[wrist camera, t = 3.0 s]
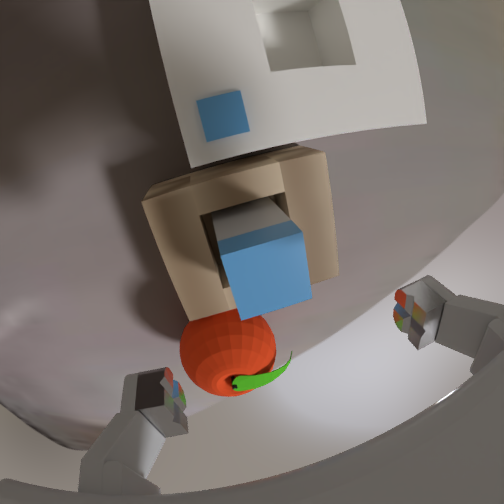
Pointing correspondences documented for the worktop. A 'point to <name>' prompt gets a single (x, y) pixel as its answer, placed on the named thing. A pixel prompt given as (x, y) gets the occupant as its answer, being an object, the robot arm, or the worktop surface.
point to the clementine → (229, 353)
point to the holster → (229, 194)
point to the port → (285, 71)
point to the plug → (262, 257)
